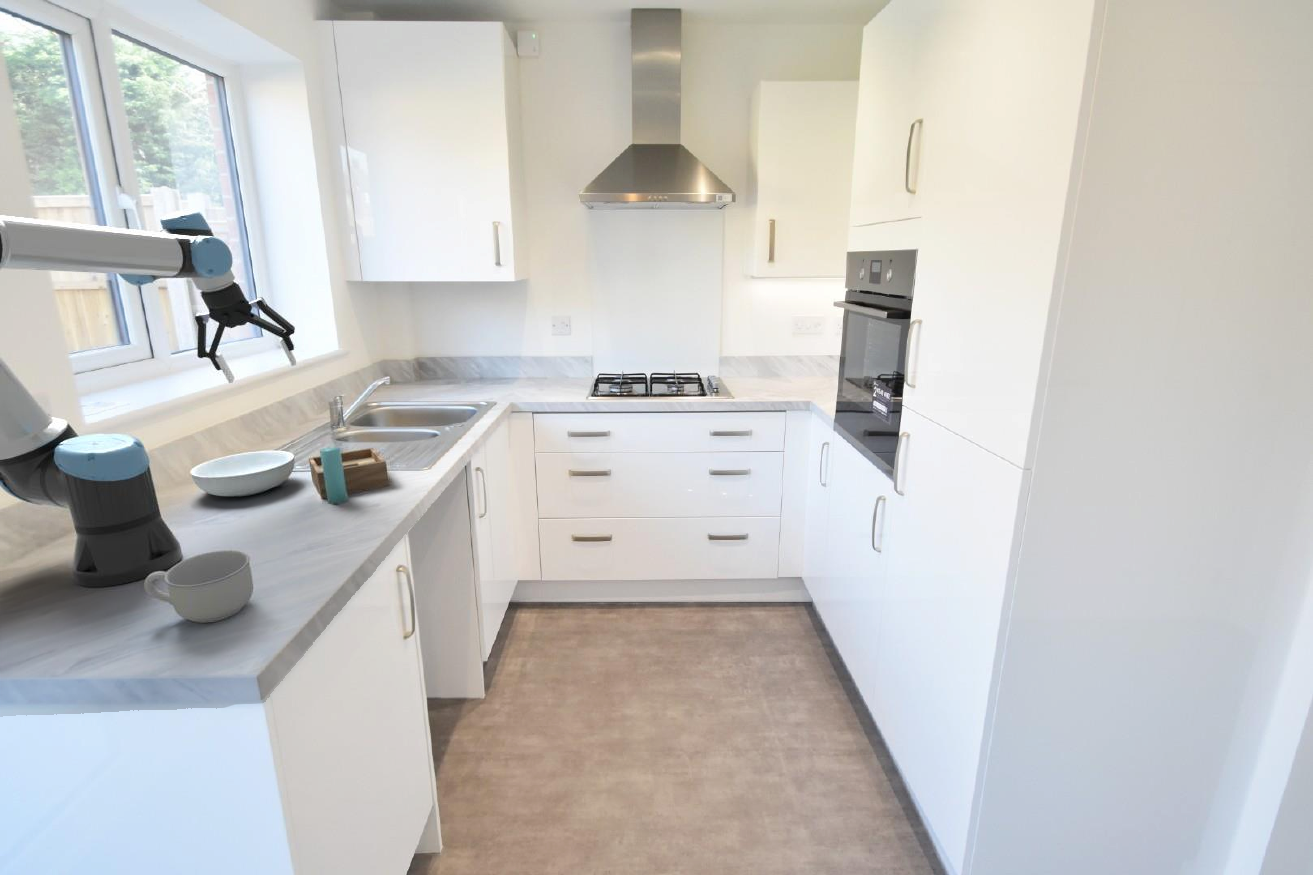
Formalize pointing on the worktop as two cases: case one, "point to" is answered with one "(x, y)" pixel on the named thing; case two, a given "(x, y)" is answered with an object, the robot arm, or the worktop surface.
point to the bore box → (354, 471)
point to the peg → (333, 475)
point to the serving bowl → (243, 473)
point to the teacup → (206, 585)
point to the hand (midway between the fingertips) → (263, 372)
